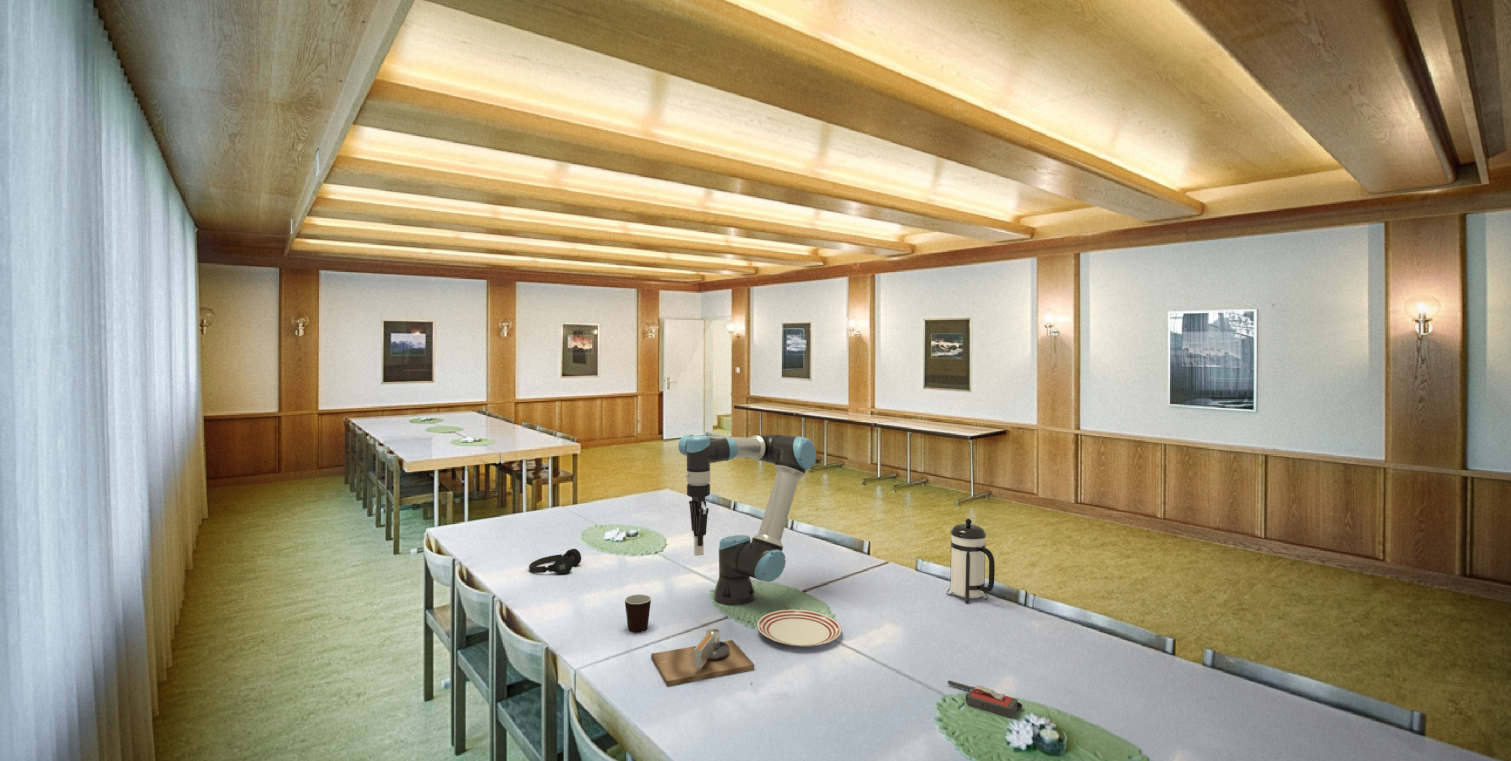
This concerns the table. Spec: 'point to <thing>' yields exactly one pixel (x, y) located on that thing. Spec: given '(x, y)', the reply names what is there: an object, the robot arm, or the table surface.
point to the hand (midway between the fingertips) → (698, 554)
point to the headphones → (557, 563)
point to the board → (680, 668)
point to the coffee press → (969, 562)
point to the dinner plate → (799, 628)
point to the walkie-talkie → (989, 700)
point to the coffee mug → (637, 612)
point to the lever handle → (709, 649)
